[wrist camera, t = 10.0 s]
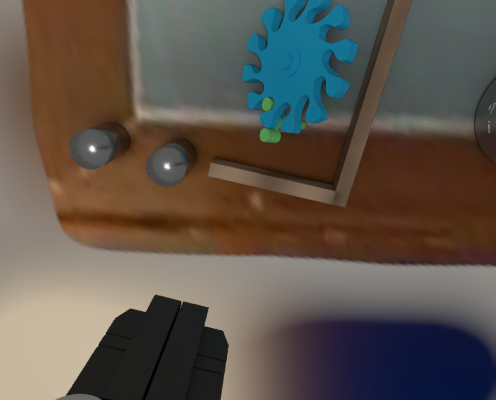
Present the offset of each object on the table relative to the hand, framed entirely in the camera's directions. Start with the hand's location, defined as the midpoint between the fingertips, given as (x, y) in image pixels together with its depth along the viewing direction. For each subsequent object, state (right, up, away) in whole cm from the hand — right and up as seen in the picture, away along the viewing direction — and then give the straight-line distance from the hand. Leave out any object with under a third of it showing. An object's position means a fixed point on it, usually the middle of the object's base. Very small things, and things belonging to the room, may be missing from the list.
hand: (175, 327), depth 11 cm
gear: (+5, +14, +22) cm, 26 cm away
